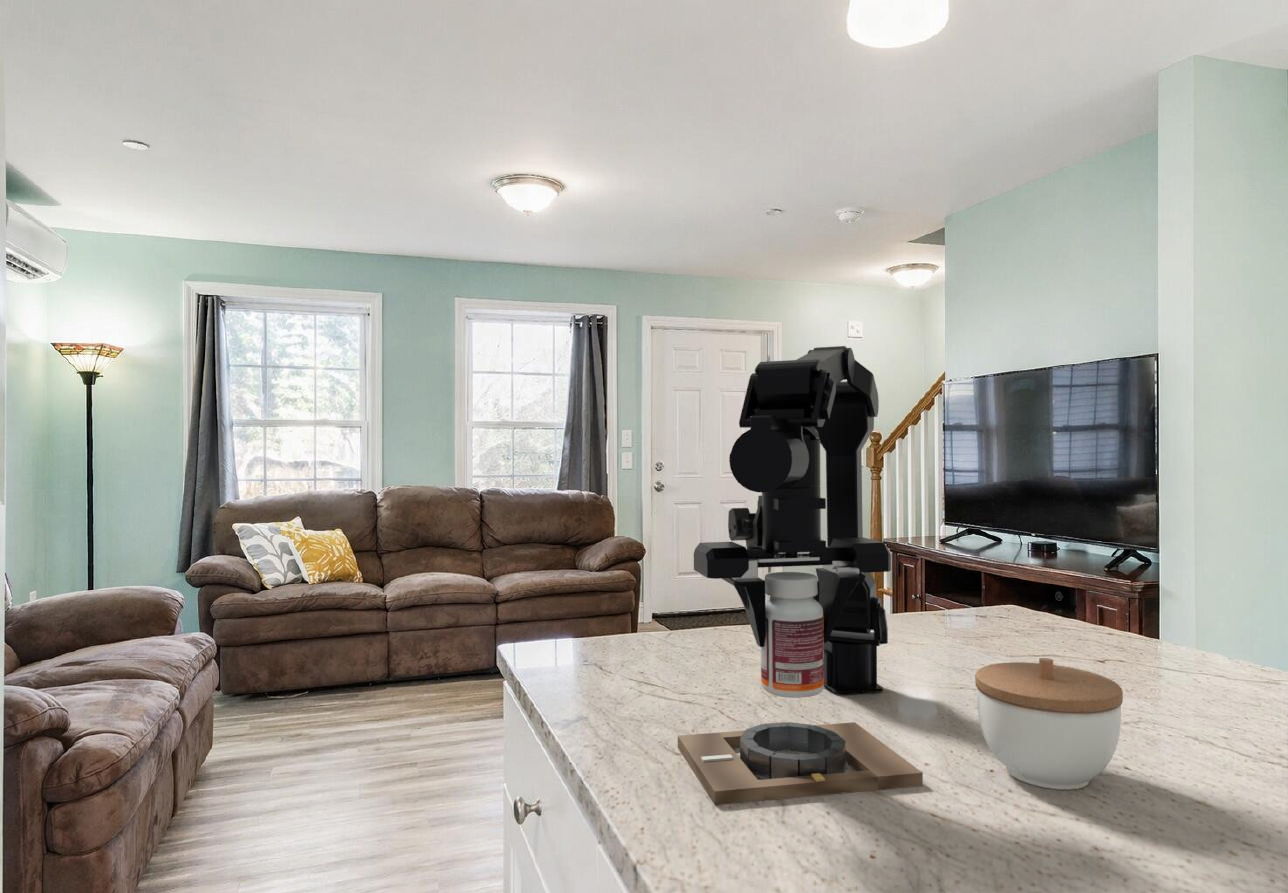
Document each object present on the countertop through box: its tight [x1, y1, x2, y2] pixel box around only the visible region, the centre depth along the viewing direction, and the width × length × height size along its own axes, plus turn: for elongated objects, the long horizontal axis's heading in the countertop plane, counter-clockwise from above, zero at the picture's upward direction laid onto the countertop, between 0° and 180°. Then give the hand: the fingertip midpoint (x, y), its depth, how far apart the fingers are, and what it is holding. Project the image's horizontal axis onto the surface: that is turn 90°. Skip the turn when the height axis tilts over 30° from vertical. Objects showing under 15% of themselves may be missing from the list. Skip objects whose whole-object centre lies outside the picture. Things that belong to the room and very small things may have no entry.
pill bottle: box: [760, 571, 825, 699], centre depth 80 cm, size 6×6×11 cm
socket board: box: [677, 721, 924, 806], centre depth 80 cm, size 20×14×2 cm
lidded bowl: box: [974, 657, 1124, 791], centre depth 77 cm, size 13×13×11 cm
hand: (791, 644), depth 80 cm, fingers closed on pill bottle, 6 cm apart
